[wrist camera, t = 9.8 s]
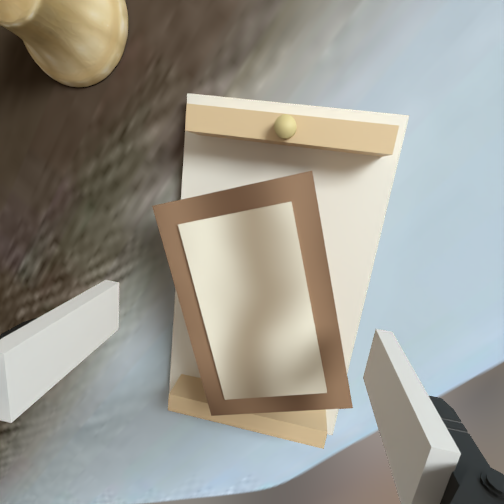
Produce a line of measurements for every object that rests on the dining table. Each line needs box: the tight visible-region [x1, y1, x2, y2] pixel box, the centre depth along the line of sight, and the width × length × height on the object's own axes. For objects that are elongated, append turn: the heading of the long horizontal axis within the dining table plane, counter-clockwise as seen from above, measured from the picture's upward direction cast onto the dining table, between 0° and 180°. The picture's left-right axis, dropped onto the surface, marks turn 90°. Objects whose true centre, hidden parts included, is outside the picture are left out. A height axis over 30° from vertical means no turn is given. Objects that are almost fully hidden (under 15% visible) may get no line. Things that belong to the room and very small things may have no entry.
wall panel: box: [168, 93, 409, 449], centre depth 22 cm, size 14×24×4 cm, turn 172°
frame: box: [152, 171, 353, 416], centre depth 20 cm, size 9×14×5 cm, turn 12°
